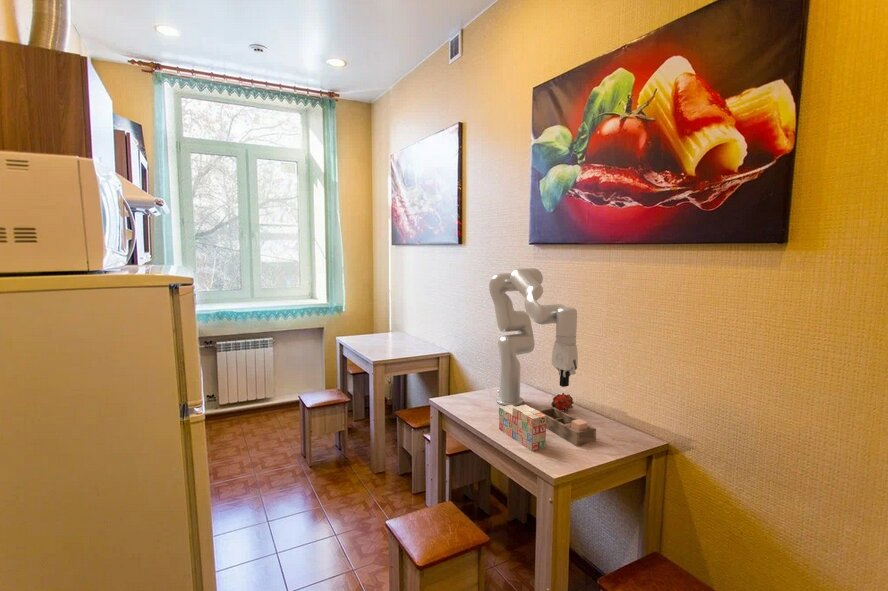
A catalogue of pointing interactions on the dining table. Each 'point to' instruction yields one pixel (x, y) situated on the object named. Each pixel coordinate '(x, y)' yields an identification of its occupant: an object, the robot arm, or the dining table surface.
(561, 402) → the dragon fruit
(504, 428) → the stack of blocks
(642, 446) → the dining table surface
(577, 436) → the box
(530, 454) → the dining table surface
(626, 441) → the dining table surface
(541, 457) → the dining table surface
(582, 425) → the terracotta block
